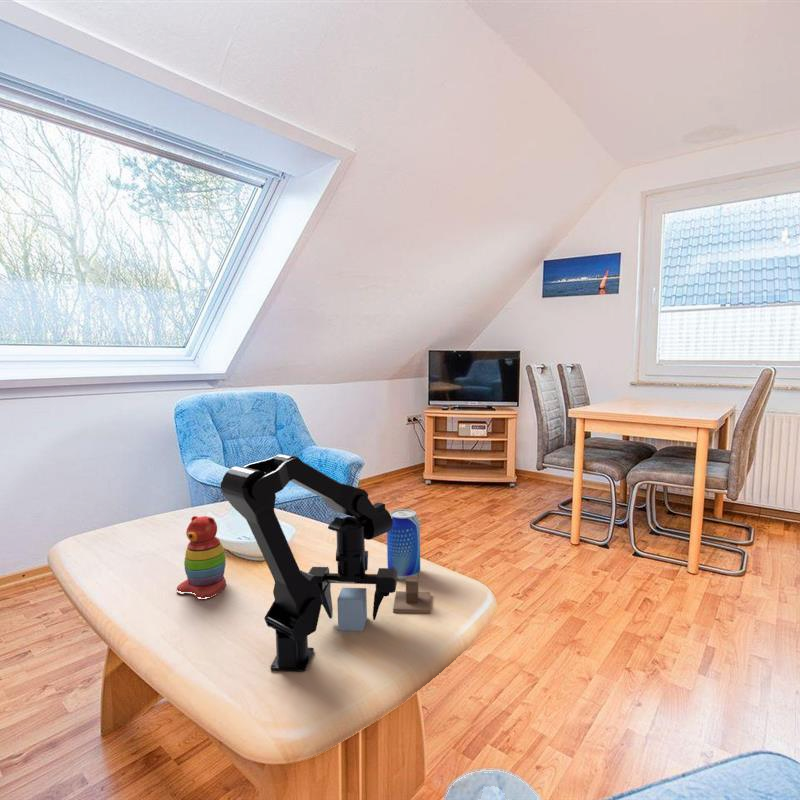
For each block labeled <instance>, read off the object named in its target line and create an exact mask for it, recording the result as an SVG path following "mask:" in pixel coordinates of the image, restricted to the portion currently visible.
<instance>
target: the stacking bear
mask: <svg viewBox="0 0 800 800" xmlns="http://www.w3.org/2000/svg"><path fill="white" fill-rule="evenodd" d="M185 531H186V532H185V533H186V534H185V535H186V537H187V539H188V540H189V542H188V544H187V547H186V549H185V555H184V563H183V564H184V565H183V566H184V571H185V575H186V580H184V581H183V582H181V583H180V584H178V585H177V587H176V591H177V590H178V591H181V592H192V593H195V594H196V596H197V597H201V598H205V597H211V596H213V595H215V594H217V593H218V594H220V593H221V592H222V591H223V590H224V589H225V587H226V586H227V581H226V578H225V576H224V575H225V570H226V563H227V562H226V558H227V557H226V553H225V550H224V546H223V544H222V542H221V541H220V539H219V538H218V537H217V536H216V535H217V532H218V524H217V521H216V520H215V518H214V517H211V516H209V515H208V516H206V515H203V516H197V515H194V516H192V517H191V521H190V523H189V524H188V526H187V528H186V530H185ZM223 588H224V589H223ZM222 589H223V590H222ZM221 590H222V591H221ZM220 591H221V592H220ZM219 592H220V593H219ZM218 594H217V595H218ZM196 596H195V597H196Z"/></svg>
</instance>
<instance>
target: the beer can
mask: <svg viewBox="0 0 800 800" xmlns="http://www.w3.org/2000/svg"><path fill="white" fill-rule="evenodd" d="M389 513H390V515H391V518H392V520H393V525H392V528H391V530H390V531H389V532H386V550H387V551H386V553H387V554H386V556H387V557H386V558H387V559H386V560H387V568H395V570H396V571H397V580H399V581H406V577H407V576H418V574H419V573H420V571H421V523H420V518H419V517H418V516H417V513H416V511H414V510H412V509H408V508H407V509H406V508H405V509H403V508H399V509H395V510H392V511H391V512H389Z"/></svg>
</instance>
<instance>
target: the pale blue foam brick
mask: <svg viewBox="0 0 800 800" xmlns="http://www.w3.org/2000/svg"><path fill="white" fill-rule="evenodd" d="M367 602H368V599H367V588H366V587H341V590H340V592H339V594H338V596H337V601H336V603H337V604H336V605H337V630H338V631H345V632H346V631H347V632H348V631H349V632H351V631H352V632H364V630H365V626H366V623H367V620H368V605H367V604H368V603H367Z"/></svg>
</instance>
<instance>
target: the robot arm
mask: <svg viewBox="0 0 800 800" xmlns="http://www.w3.org/2000/svg"><path fill="white" fill-rule="evenodd" d="M289 482H292V483H293V484H295V485H297V486H299V487H301V488H303V489H305V490H307V491H308V492H311V493H313V494H314V495H316V496H318V497H320V498H321V499H322V500H323V501H324V503H325V505H326V506H327V507H329V508H330V509H331V510H332V511H334V512H335V513H338V514H343V515H346V516H345V517H343V518H342V517H338V516H335V517H334V519H333V520H332V521H331V522H330V523H329V524H328V526H327V529H328V530H331V531H333V532H335V533H336V550H335V551H336V552H335V561H336V562H337V573H336V572H330V568H329V566H312V567H311V568H310V569H309V570H308V572H306V571H304V570H301V569H300V568H299V565H298V563H297V561H296V558H295V555H294V554H293V552H292V549H291V547H290V545H289V542H288V540H287V536H286V535H285V533H284V530H283V528H282V526H281V524H280V521H279V519H278V516H277V514H276V511H275V505H276V500H277V495H276V494H277V493H278V492H281V491H282V490H284V488H285V487H286V486H287V485H289ZM220 489H221V493H222V494H223V496H224V498H225V499H226V500H227V502H229V504H230V505H231V506H232V507H233V509H234V510H236V511H237V513H239V514H240V515H241V516H242V517H243V519H245V521H246V522H247V524H248V527H249V528H250V529H249V530H251V533H252V535H253V537H254V539H255V541H256V544H257V545H258V546H257V547H259V550H260V552H261V553H262V556H263V559H264V560H265V563H266V565H267V566H268V569H269V572H270V574H271V575H272V578H273V581H274V585H273V586H274V587H273V590H272V594H273V599H274V601H273V603H272V604H271V606H270V607H269V609H268V611H267V612H266V614H265V616H264V619H263V620H264V621H265V624H266V626H267V627H268V628H272V629H273V630H275V644H276V645H275V647H276V655H275V657H274V658H273V661H272V663H271V665H270V666H269V667H270V670H271V671H287V672H305V671H306V670H307V669H308V668H307V667H308V666H309V663H310V660H311V658H312V656H313V654H314V651H315V650H314V649H315V648H314V647H309V646H308V645H309V644H308V643H309V641H308V638H309V637H308V636H310V635H311V634H313V633H315V632H316V631H317V629H318V628H317V626H318V623H319V618H320V615H321V610H322V607H323V608H324V611H325V613H326V614H327V617H329V619H333V617H334V616H333V614H334V613H333V612H334V611H333V609H334V608H333V601H332V600H333V599H332V592H331V588H332V587H331V584H345V585H346V584H350V585H351V584H352V585H353V584H354V585H355V584H356V585H375V591H374V595H373V596H374V598H373V607H372V608H373V609H372V619H373V621H376V618H377V614H378V611H379V609H380V605H381V603H382V601H383V600H384V598H385V597H388V596H390V594H393V593H396V589H397V584H398V579H397V571H396V570H395V568H388V567H378V570H377V573H375V574H374V573H366V572H367V571H368V568H369V565H368V564H369V550H366V548H365V547H366V545H365V540H366V541H369V540H370V541H371V540H372V539H375V538H377V537H379V536H383V535H384V534H387V532H389V531H390V530H391V528H392V525H393V520H392V518H391V515H390V513H391V512H389V511H388V510H387V508H386V504H385V502H384V503H383V502H378V501H377V502H375V503H372V502H371V501H370V499H369V493H368V492H367V491H366V489H363V488H360V487H356V486H353V485H348V484H344V483H341V482H339V481H337V480H335V479H334V478H332V477H330V476H328V475H327V474H324V473H323V472H321V471H319V470H318V469H316V468H314V467H313V466H311V465H310V464H308V463H306V462H304V461H302V460H301V459H300V458H299V457H298V456H295V455H290V454H285V453H280V454H277V455H274V456H272V457H270V458H267V459H263V460H260V461H255V462H251V463H248V464H246V465H243V466H241V465H237V466H232V467H231V468H230V469H228V470H227V471H226V472H225V474H224V476H223V477H222V481H221V482H220Z"/></svg>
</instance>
